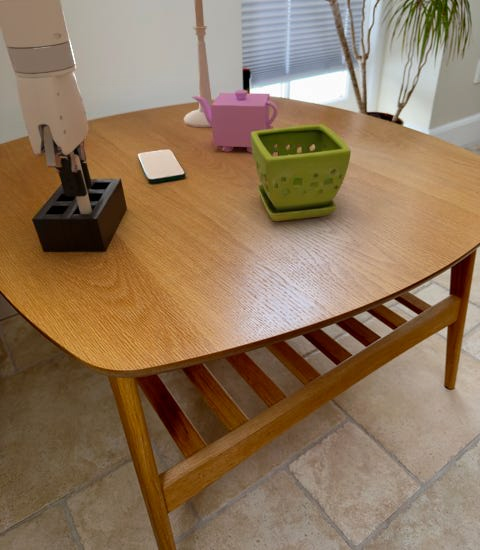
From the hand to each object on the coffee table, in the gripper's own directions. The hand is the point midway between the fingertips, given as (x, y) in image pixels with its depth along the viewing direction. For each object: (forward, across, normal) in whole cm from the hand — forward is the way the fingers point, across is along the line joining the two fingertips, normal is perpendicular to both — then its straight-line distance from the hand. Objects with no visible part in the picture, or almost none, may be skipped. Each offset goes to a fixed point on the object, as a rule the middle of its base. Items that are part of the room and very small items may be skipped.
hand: (79, 191), depth 66 cm
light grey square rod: (+8, 0, 0) cm, 8 cm away
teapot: (+9, -43, +22) cm, 49 cm away
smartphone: (+9, -30, +6) cm, 32 cm away
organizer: (+9, -4, -2) cm, 10 cm away
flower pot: (+9, -11, +34) cm, 37 cm away
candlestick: (+9, -63, +13) cm, 65 cm away
